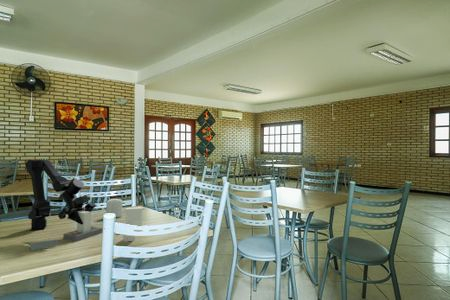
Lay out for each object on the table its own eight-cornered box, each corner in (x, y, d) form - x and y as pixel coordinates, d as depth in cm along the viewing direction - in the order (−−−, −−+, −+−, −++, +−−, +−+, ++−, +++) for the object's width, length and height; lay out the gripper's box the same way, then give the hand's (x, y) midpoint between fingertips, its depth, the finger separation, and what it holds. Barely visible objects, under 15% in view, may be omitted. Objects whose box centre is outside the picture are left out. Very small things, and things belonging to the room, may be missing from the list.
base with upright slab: (127, 231, 151) (127, 210, 152) (124, 227, 159) (125, 207, 160) (143, 230, 156) (144, 209, 156) (140, 226, 164) (141, 206, 164)
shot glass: (124, 238, 141) (124, 224, 141) (137, 237, 141) (138, 224, 141) (120, 242, 134) (120, 228, 134) (134, 242, 134) (135, 228, 135)
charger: (83, 237, 139) (84, 213, 139) (76, 235, 141) (77, 212, 141) (90, 234, 142) (91, 211, 142) (83, 233, 144) (83, 210, 144)
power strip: (76, 242, 132) (76, 235, 132) (63, 240, 136) (63, 232, 136) (102, 233, 147) (102, 227, 147) (89, 231, 151) (90, 225, 151)
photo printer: (121, 215, 188) (121, 197, 189) (122, 217, 185) (123, 198, 185) (105, 217, 183) (105, 199, 183) (106, 218, 179) (106, 200, 179)
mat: (30, 251, 120) (31, 249, 120) (29, 244, 128) (29, 243, 128) (59, 246, 127) (59, 245, 127) (56, 240, 135) (56, 238, 135)
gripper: (62, 192, 134) (78, 217, 130) (93, 187, 152) (108, 209, 148) (51, 206, 137) (66, 231, 133) (82, 200, 155) (97, 222, 150)
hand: (85, 223), depth 141 cm, fingers closed on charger, 4 cm apart
